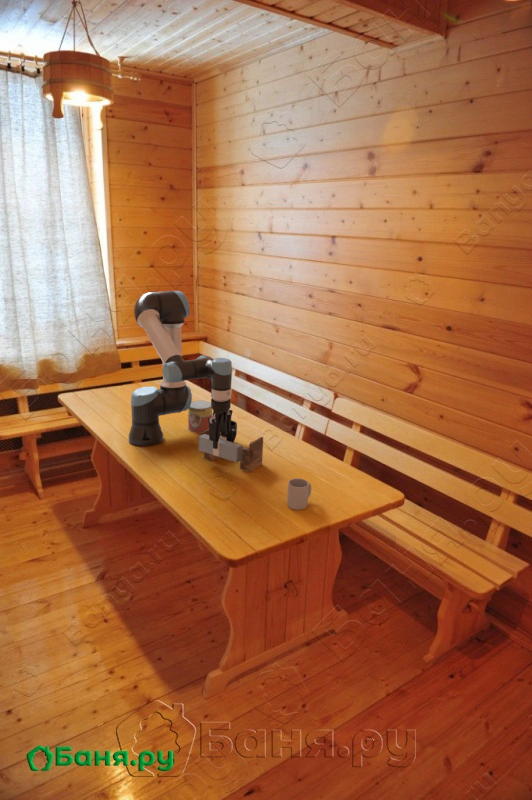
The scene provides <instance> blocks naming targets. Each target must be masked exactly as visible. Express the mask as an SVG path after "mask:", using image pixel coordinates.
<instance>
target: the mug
mask: <svg viewBox="0 0 532 800" xmlns="http://www.w3.org/2000/svg"><path fill="white" fill-rule="evenodd" d="M237 429H238V423H237V422H236V421H235V420H232V419H231V429H230V434H228V435H229V437H227V440H226V441H230V442H233V443H235V440H236V437H237V435H238V434H237V431H238V430H237ZM220 432H221V429H220Z"/></svg>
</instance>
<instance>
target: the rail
mask: <svg viewBox="0 0 532 800" xmlns="http://www.w3.org/2000/svg"><path fill="white" fill-rule="evenodd" d="M197 439H198V440H197V445H198V446H197V448H198V451H200V452H203V453H204V452H206V453H209V454H212V455H213V441H211V440H209V435H206V434H204V433H201V434H200V435H199V436H198V438H197ZM219 441H220V456H219V457H220V458H222V459H225V460H228V461H231V462H234V463H240V460H242V452H243V447H244V446H243V445H242V444H239V443H235V442H234V443H233V442H230V441H226V440H223V439H220V438H219Z"/></svg>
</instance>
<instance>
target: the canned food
mask: <svg viewBox="0 0 532 800" xmlns="http://www.w3.org/2000/svg"><path fill="white" fill-rule="evenodd" d="M187 410H188V418H187V423H188V426H187V427H188V428H187V429H188V431H190V432H192V433H195V434H204V431H206V430H208V429H209V422H208V418H211V417H212V416H213V409H212V408H211V401H208V400H194V401H192V402H191V405H190V407H189V408H188V409H187Z"/></svg>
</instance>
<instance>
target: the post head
mask: <svg viewBox="0 0 532 800" xmlns="http://www.w3.org/2000/svg"><path fill="white" fill-rule="evenodd" d="M203 434H206V435H209V429H208V430H206V431H204V433H203ZM220 436H222V435H221V432H220V435H219V438H220ZM219 458H221V457H218V456H215V455H212V454H209V453H206V452H203V459H207V460H209V461H210V460H211V461H212V462H214V461H216V460H218V459H219Z"/></svg>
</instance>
